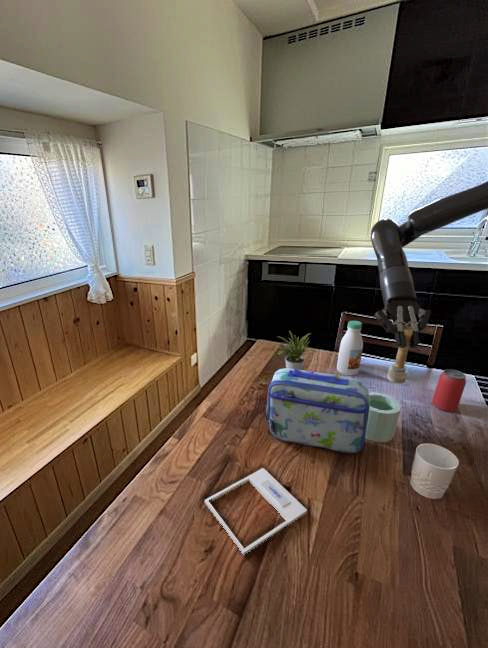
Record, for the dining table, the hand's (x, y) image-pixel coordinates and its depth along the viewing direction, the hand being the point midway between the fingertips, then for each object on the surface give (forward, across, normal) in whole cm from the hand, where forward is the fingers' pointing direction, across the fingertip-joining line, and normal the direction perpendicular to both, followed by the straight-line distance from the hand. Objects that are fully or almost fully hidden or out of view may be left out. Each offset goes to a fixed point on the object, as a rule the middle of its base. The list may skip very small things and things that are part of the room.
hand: (408, 346), depth 85 cm
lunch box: (+22, -22, +18) cm, 36 cm away
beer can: (+10, +23, +30) cm, 39 cm away
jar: (+19, -3, +21) cm, 28 cm away
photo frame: (+39, -40, +1) cm, 56 cm away
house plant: (-4, -20, +45) cm, 49 cm away
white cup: (+33, +1, +7) cm, 34 cm away
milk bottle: (-5, 0, +45) cm, 45 cm away
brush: (+6, 0, +9) cm, 11 cm away
